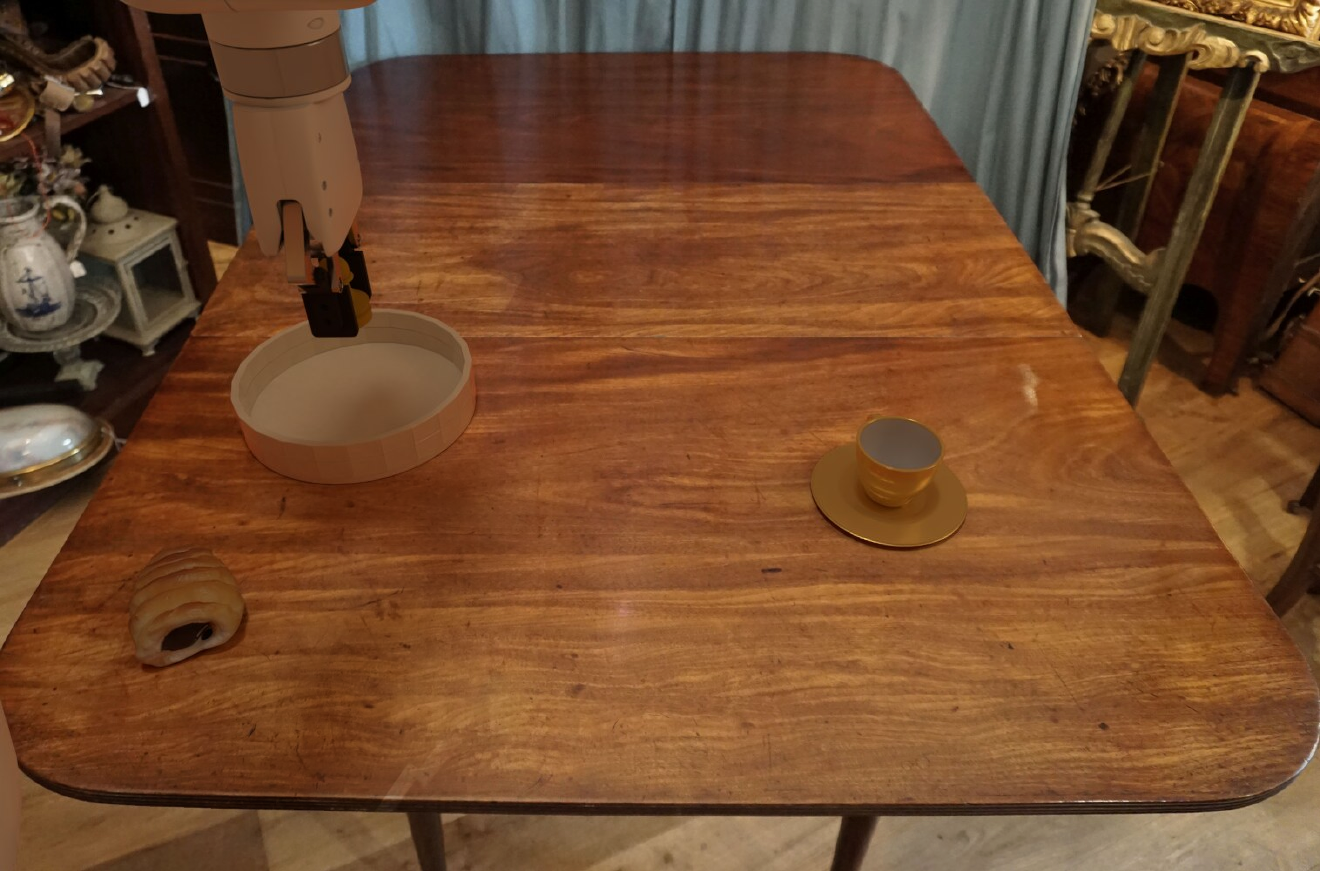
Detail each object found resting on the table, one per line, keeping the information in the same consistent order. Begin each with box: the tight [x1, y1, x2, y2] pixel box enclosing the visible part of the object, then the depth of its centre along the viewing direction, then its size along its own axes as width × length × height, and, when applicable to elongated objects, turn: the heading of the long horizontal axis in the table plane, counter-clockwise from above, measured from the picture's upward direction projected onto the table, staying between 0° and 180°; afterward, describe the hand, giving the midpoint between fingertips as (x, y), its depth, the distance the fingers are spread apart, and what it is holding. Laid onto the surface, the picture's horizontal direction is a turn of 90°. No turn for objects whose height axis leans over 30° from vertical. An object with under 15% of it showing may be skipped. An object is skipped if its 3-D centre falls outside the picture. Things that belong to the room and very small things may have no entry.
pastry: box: [127, 542, 245, 668], centre depth 62 cm, size 9×7×4 cm
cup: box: [810, 413, 969, 548], centre depth 71 cm, size 12×12×5 cm
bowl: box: [230, 307, 477, 485], centre depth 79 cm, size 19×19×4 cm
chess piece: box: [317, 257, 372, 328], centre depth 67 cm, size 4×4×5 cm
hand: (343, 314), depth 68 cm, fingers closed on chess piece, 4 cm apart
